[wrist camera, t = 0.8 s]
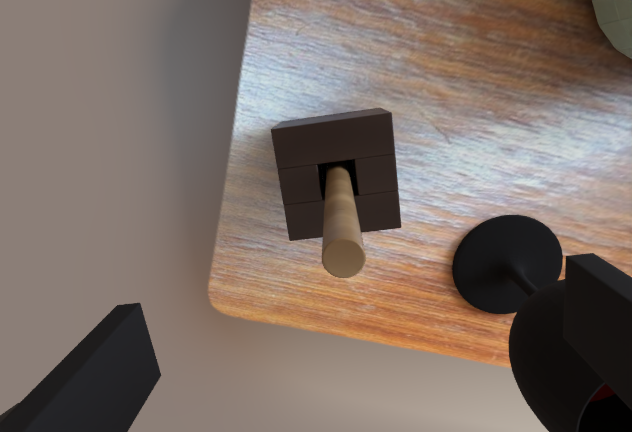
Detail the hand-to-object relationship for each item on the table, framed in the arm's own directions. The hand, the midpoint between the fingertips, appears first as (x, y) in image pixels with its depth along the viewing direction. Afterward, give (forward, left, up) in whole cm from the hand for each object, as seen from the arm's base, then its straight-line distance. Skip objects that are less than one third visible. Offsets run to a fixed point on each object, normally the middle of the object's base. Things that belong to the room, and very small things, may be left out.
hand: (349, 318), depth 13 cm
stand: (0, 0, -26) cm, 26 cm away
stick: (0, 0, -26) cm, 26 cm away
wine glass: (+12, +15, -26) cm, 33 cm away
